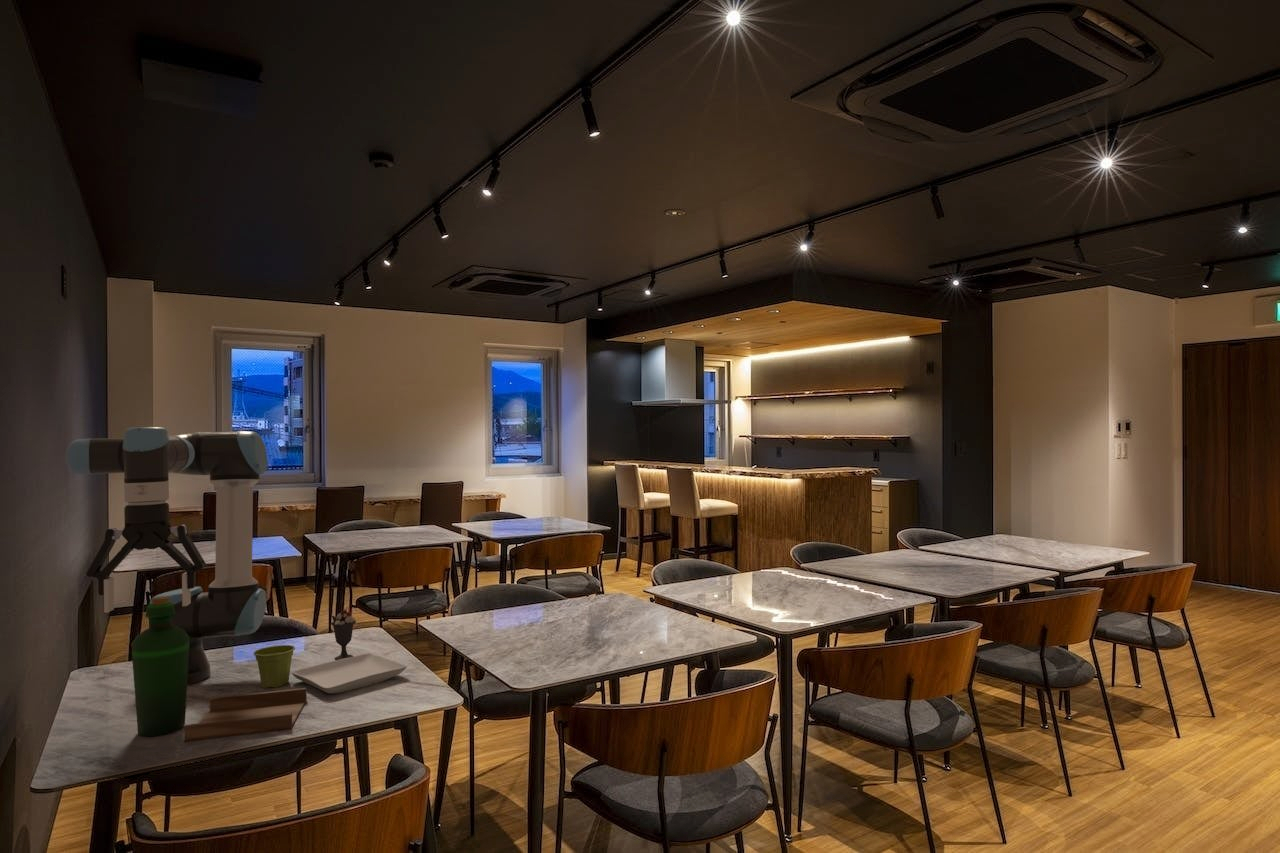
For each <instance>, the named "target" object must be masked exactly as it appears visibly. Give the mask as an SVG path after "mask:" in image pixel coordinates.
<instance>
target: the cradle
mask: <svg viewBox="0 0 1280 853" xmlns="http://www.w3.org/2000/svg"><path fill="white" fill-rule="evenodd" d="M307 696H308V695H307V687H302V688H293V689H292V688H291V689H283V690H272V691H271V690H270V691H263V692H253V693H246V694H245V693H243V694H236V695H225V696H224V695H223V696H215V697H211V698H209V710H208V712H207V713H206V714H205V715H204V716H203V717H202V719H201V720H200V721H199V722H198V723H191V724H184V725H183V726H184V727H183V737H184V738H183V741H184V742H193V741H201V740H209V739H217V738H218V739H219V738H225V737H234V736H243V735H252V734H261V733H269V732H277V731H284V730H285V731H286V730H292V728H293V727H294V725H295V723H296V722H297V719H298V717H299V715H300V714H301V712H302V710H303V708H304V706H305V705H306V702H307Z"/></svg>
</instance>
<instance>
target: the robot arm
mask: <svg viewBox="0 0 1280 853" xmlns="http://www.w3.org/2000/svg"><path fill="white" fill-rule="evenodd" d="M266 447H267V446H266V444H265V442H264V440H263V438H262V437H261V435H260V434H258V432H255V431H252V430H251V431H249V430H246V431H245V430H231V431H229V430H228V431H225V430H224V431H195V432H188V433H182V434H173V435H169V432H168V430H167V428H165V427H161V426H157V427H156V426H155V427H154V426H148V427H147V426H145V427H144V426H143V427H141V426H140V427H139V426H138V427H137V426H136V427H129V428H128V427H127V429H125V430H124V431H123V437H121V438H120V437H119V438H117V437H113V438H111V437H110V438H107V437H106V438H104V437H103V438H91V437H90V438H89V437H88V438H80V439H79V438H78V439H74V440H73V441H71V442H70V443H69V444H68V446H67V448H66V452H65V453H66V454H65V455H66V456H65V459H66V460H65V461H66V465H67V467H68V469H69V471H70V472H71V473H74V474H76V475H103V474H104V475H105V474H108V475H109V474H122V473H123V474H124V475H123V476H124V478H123V479H124V480H123V494H124V498H123V500H124V503H127V504H126V505H125V506H124V510H123V512H124V514H123V515H124V519H123V520H124V527H123V529H118V528H115V527H112V528H108V529H106V530H105V535H104V541H103V542H102V545H101V546H100V548H99V549H98V551H97V554H96V556H95V557H94V558H93V561H92V562H91V563H90V566H89V568H88V570H87V572H86V576H87V577H88V578H90V577H91V578H95V579H97V584H98V585H97V586H98V587H97V589H98V592H97V593H98V595H99V596H103V613H110V612H112V611H113V610H115V586H114V585H115V583H114V582H115V579H114V578H115V577H114V576H110V575H111V574H112V573H113V572H114V571H115V569H116V568H117V567H118V566H119V565H120V564H121V563H122V562H123V561H124V560H125V558H126V557H128V555H129V554H131V552H132V551H134V549H135V550H137V551H142V550H145V549H147V550H156V549H158V548H159V549H161V550H162V551H163V552H165V553H166V554H167V555H168V556H169V557H170V558H171V559H172V560H173V561H174V562H175V563H176V564H178V566H180V568H182V569H183V570H184V571H185V572H183V573H182V574H181V588H179V589H174V590H169V591H166V592H163V593H159V594H155V596H153V597H152V598H155V597H162V596H169V602H173V605H174V609H175V614H173V615H172V625H174V626H177V627H179V628H182V629H184V631H185V632H186V633H187V634H188V635H189V638H190V640H189V659H188V677H187V686H189V685H192V684H195V683H198V682H201V681H203V680H205V679H207V678H209V677H210V676H211V664H210V661H209V659H208V657H207V654H206V652H205V649H204V647H203V638H205V639H206V638H215V637H230V636H232V637H233V636H235V637H239V636H243V635H250V634H253V633H255V632H256V631H258V629H259V628H260V626H261V625H262V622H263V620H264V617H265V615H266V614H265V612H266V608H267V593H266V590H265V589H263V588H259V581H258V580H257V579H256V578H255V577H253V526H254V525H253V518H254V517H253V511H254V510H253V508H254V506H253V505H254V504H253V503H254V500H253V499H254V497H253V496H254V487H255V485H257V484H258V483H259V482H260V475H262V474H264V473H266V472H267V469H268V453H267V448H266ZM169 474H179V475H180V474H181V475H182V474H183V475H191V476H209V483H211V485H213V486H215V489H216V493H215V494H216V496H215V498H216V499H215V500H216V503H215V504H216V505H215V513H216V514H215V565H214V566H215V570H214V571H215V572H214V573H215V576H214V578H215V579H214V580H213V581H212V582H211V583H210V584H209V585H208V588H207V589H208V591H207V592H203V591H204V590H203V588H202V587H201V586H199V585H198V586H197V582H196V581H197V578H196V576H197V575H196V574H197V571H200V570H202V569H203V568H206V565H207V563H206V561H205V560H204V558H203V556H202V555H201V553H200V551H199V550H198V548H197V546H196V544H195V543H194V542H193V540H192V538H191V536H190V535H189V529H188V525H187V524H181V525H176V526H171V524H170V504H169V503H167V502H166V501H169V499H170V491H169V490H170V489H169V488H170V485H169V484H170V483H169V481H170V480H169ZM172 533H173V534H174V536H175V537H178V539H179V541H180V543H181V544H182V546H183V548H184V550H185V551H186V553H187V555H188V557H189V558H190V559H191V561H190V560H189V559H188V558H187V557H186V556H185V555H184V553H183V552H181V551H180V550H179V549H178V547H176V546H175V545H174V543H173V542H172V541H171V540H170V539H169V537H170V535H171V534H172ZM121 536H122V537H123V538H124V539H125V541H126V543H125V544H124V545H123V546H122V547H121V549H120V550H119V551H118V552H117V554H116V555H114V557H112V559H111V560H110V561H109V562H108V563H107V564H106V565H105V566H104V564H105V562H106V560H107V558H108V556H109V555H110V552H111V550H113V547H114V545H115V543H116V541H117V540H119V539H120V537H121ZM103 566H104V568H102V567H103ZM152 598H151V599H150V601H149V604H152ZM148 627H149V628H150V625H149V624H148ZM149 628H148V629H149Z"/></svg>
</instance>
